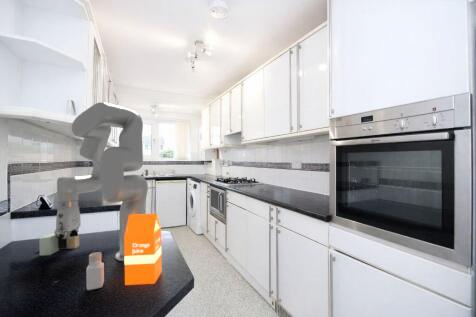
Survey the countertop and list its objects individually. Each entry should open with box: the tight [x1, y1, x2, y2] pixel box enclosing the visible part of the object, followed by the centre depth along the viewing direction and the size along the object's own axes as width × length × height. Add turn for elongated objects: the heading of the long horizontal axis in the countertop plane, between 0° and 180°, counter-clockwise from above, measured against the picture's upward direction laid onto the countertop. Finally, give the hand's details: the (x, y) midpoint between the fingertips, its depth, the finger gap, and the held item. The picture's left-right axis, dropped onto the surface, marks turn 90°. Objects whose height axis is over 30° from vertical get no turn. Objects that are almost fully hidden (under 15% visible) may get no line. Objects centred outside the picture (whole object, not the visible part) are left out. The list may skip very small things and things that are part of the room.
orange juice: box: [123, 213, 163, 286], centre depth 72 cm, size 8×9×20 cm
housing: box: [38, 231, 71, 256], centre depth 101 cm, size 4×16×7 cm, turn 6°
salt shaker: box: [85, 251, 105, 291], centre depth 68 cm, size 4×4×10 cm
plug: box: [59, 235, 80, 250], centre depth 101 cm, size 14×4×4 cm, turn 96°
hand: (68, 244), depth 101 cm, fingers open, 7 cm apart
